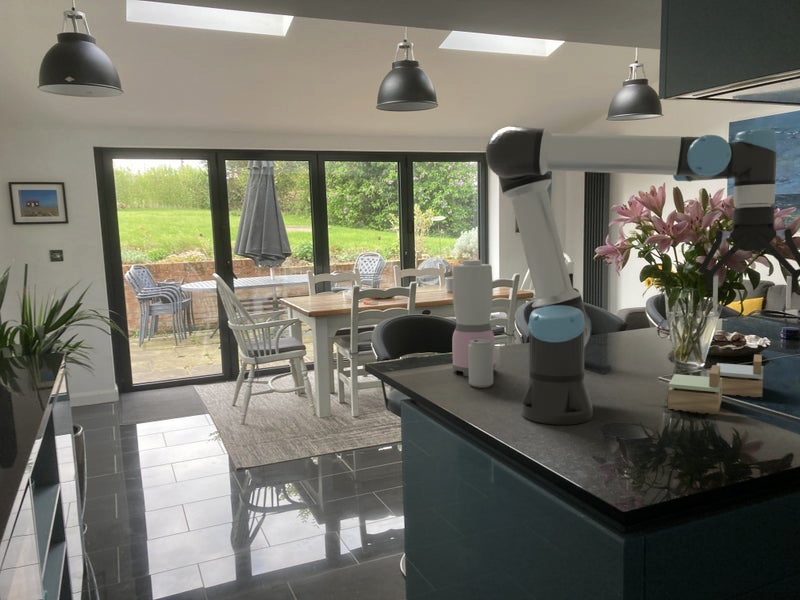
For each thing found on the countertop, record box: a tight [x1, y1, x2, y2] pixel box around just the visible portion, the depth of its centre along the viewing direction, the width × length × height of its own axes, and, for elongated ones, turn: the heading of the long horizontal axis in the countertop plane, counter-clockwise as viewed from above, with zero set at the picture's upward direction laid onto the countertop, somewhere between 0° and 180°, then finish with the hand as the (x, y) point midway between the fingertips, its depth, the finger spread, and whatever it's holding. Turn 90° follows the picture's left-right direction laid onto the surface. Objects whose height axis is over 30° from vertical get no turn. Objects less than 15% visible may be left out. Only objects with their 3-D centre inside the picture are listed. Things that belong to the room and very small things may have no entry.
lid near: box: [668, 364, 722, 392], centre depth 141 cm, size 10×10×4 cm
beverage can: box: [468, 339, 494, 389], centre depth 165 cm, size 6×6×12 cm
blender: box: [451, 259, 496, 377], centre depth 181 cm, size 16×12×32 cm
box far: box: [720, 376, 764, 398], centre depth 151 cm, size 10×10×4 cm
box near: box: [667, 384, 723, 415], centre depth 141 cm, size 10×10×4 cm
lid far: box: [716, 353, 764, 380], centre depth 151 cm, size 10×10×4 cm
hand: (750, 307), depth 134 cm, fingers open, 13 cm apart
